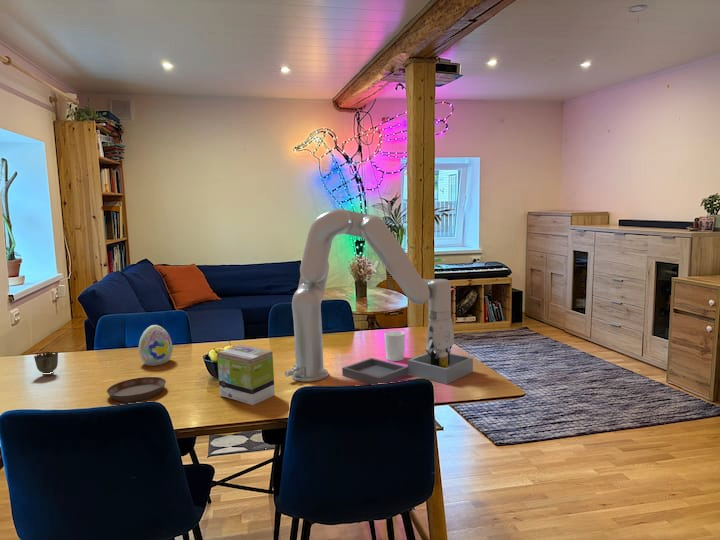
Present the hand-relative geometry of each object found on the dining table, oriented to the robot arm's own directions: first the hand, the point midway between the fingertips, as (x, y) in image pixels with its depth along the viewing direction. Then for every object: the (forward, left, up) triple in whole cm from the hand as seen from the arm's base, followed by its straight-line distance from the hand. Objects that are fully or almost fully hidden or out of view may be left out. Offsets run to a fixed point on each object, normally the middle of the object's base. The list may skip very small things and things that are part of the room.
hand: (440, 366), depth 176 cm
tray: (-16, +16, -2) cm, 23 cm away
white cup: (+3, +23, -3) cm, 23 cm away
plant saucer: (-78, +64, -3) cm, 101 cm away
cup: (-92, +109, -3) cm, 143 cm away
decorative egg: (-59, +92, -3) cm, 109 cm away
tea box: (-56, +34, -3) cm, 66 cm away
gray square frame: (0, 0, -2) cm, 2 cm away
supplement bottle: (0, 0, -3) cm, 3 cm away
